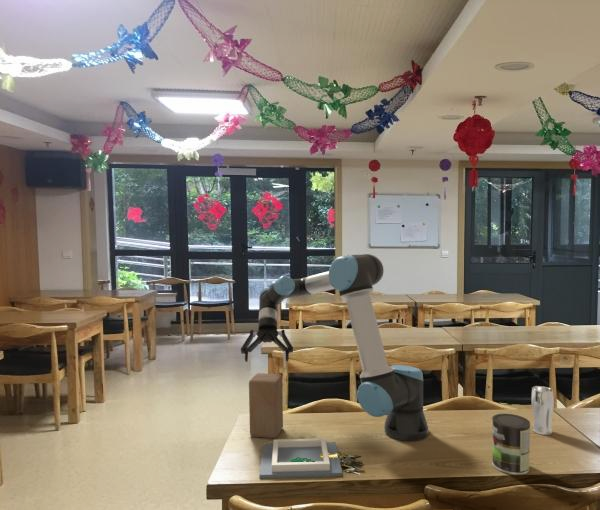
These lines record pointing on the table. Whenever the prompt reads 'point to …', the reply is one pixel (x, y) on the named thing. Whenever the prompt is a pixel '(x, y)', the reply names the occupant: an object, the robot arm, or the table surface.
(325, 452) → the grey square frame tray
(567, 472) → the table surface
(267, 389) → the block
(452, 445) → the table surface
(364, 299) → the robot arm
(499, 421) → the coffee can
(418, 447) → the table surface
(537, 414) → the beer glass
